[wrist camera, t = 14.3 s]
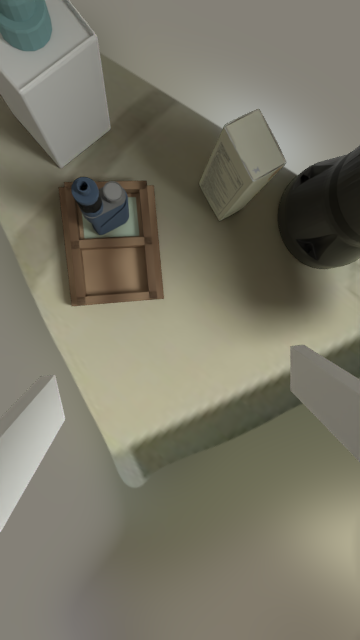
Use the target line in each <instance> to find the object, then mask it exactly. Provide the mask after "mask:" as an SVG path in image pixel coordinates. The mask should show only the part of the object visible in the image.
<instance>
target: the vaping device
mask: <svg viewBox="0 0 360 640" xmlns="http://www.w3.org/2000/svg"><path fill="white" fill-rule="evenodd" d="M71 192H72V195H73V197H74V199H75V200H76V202H77V204H78V206H79V207H80V210H81V212H82V214H83V216H84V218H85V219H87V220H88V221H89V222H90V223H92V226H93V228H94V230H95V231H96V232H97V233H98V234H99V235H104V234H106V233H108V232H110V231H112V230H114V229H116V228H118V227H119V226H121V225H123V224H125V223H126V222H127V221H128V219H129V206H128V196H127V193H126V191H125V190H124V188H122V186H121V185H120V184H119V183H118V182H115V181H109V182H107V183H106V184H105V185H104V187H102V188H100V189H98V187H97V185H96V183H95V182H94V181H93V180H92V179H90V178H87V177H80V178H78V179H76V180H75V181H74V182H73V184H72V187H71Z"/></svg>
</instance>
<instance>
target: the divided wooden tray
mask: <svg viewBox="0 0 360 640" xmlns="http://www.w3.org/2000/svg"><path fill="white" fill-rule="evenodd" d="M107 182H109V181H104V182H95V183H96V185H97V187H98V189H100V188H102V187H104V185H105V184H106V183H107ZM115 182H118V183H119V184H120V185H121V186H122V188H124V190H125V191H126V193H127V196H128V206H129V219H128V221H127V222H126V223H125V224H123V225H121V226H119V227H118V228H116V229H114V230H112V231H110V232H108V233H106V234H104V235H99V234H98V233H97V232H96V231H95V230H94V228H93V226H92V223H90V222H89V221H88V220H87V219H85V218H84V216H83V214H82V212H81V210H80V207H79V206H78V204H77V202H76V200H75V199H74V197H73V195H72V192H71V187H72V184H73V182H64V187H59V195H60V204H61V213H62V222H63V231H64V241H65V250H66V259H67V268H68V277H69V286H70V295H71V304H72V306H81V305H93V304H105V303H117V302H129V301H141V300H153V299H164V295H163V284H162V272H161V261H160V250H159V239H158V228H157V217H156V205H155V194H154V185H147V181H115Z"/></svg>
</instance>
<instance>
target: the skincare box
mask: <svg viewBox="0 0 360 640" xmlns="http://www.w3.org/2000/svg"><path fill="white" fill-rule="evenodd" d="M285 164H286V160H285V158H284V156H283V154H282V152H281V149H280V147H279V145H278V143H277V141H276V139H275V137H274V135H273V134H272V132H271V130H270V128H269V126H268V124H267V122H266V120H265V118H264V116H263V115H262V113H261V111H260V109H256V110H254V111H252V112H250V113H248V114H245V115H243V116H241V117H239V118H237V119H235V120H233V121H231V122H229V123H227V124H225V125H224V127H223V130H222V132H221V134H220V137H219V139H218V141H217V143H216V146H215V148H214V150H213V152H212V155H211V157H210V159H209V161H208V164H207V166H206V168H205V170H204V173H203V175H202V177H201V179H200V182H199V185H200V187H201V189H202V191H203V193H204V195H205V197H206V199H207V200H208V202H209V204H210V206H211V208H212V209H213V211H214V213H215V215H216V216H217V218H218V220H219V221H221V220H223V219H225V218H226V217H228V216H230V215H232V214H234V213H236V212H237V211H239V210H241V209H242V208H243V207H244V206H245V205H246V204H247V203H248V202H249V201H250V200H251V199H252V198H253V197H254V196H255V195H256V194H257V193H258V192H259V191H260V190H261V189H262V188H263V187H264V186H265V185H266V184H267V183H268V182H269V181H270V180H271V179H272V178H273V177H274V176H275V175H276V174H277V173H278V172H279V170H280V169H281V168H282V167H283V166H284V165H285Z"/></svg>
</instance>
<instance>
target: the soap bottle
mask: <svg viewBox="0 0 360 640" xmlns="http://www.w3.org/2000/svg"><path fill="white" fill-rule="evenodd" d="M0 94H1V96H2V97H3V99H4V100H5V102H6V104H7V105H8V107H9V108H10V110H11V111H12V113H13V114H14V115H15V117H16V118H17V119H18V120H19V121H20V122H21V124H22V125H23V126H24V127H25V128H26V129H27V130H28V132H29V133H30V134H31V135H32V136H33V137H34V139H35V140H36V141H37V142H38V143H39V144H40V146H41V147H42V148H43V149H44V150H45V151H46V152H47V154H48V155H49V156H50V157H51V158H52V159H53V161H54V162H55V163H56V164H57V165H58V166H59V167H60V168H63V167H64V166H65V165H66V164H68V163H69V162H70V161H71V160H73V159H74V158H75V157H76V156H78V155H79V154H80V153H81V152H83V151H84V150H85V149H86V148H88V147H89V146H90V145H91V144H93V143H94V142H95V141H97V140H98V139H99V138H100V137H102V136H103V135H104V134H105V133H107V132H108V131H109V130H110V129H111V126H110V119H109V113H108V106H107V99H106V92H105V85H104V78H103V71H102V64H101V57H100V51H99V44H98V38H97V35H96V33H95V32H94V31H93V29H92V28H91V27H90V26H89V25H88V23H87V22H86V20H85V19H84V18H83V17H82V15H81V14H80V13H79V12H78V10H77V9H76V8H75V6H74V5H73V4H72V3H71V1H70V0H0Z"/></svg>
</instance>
